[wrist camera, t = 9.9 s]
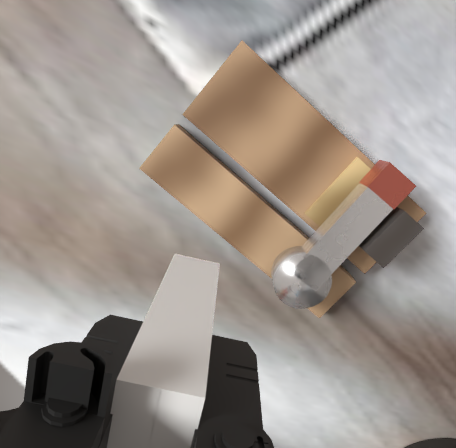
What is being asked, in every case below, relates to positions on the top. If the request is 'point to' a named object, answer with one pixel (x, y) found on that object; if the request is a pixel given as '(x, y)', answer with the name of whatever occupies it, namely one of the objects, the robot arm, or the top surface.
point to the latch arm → (338, 237)
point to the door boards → (271, 170)
